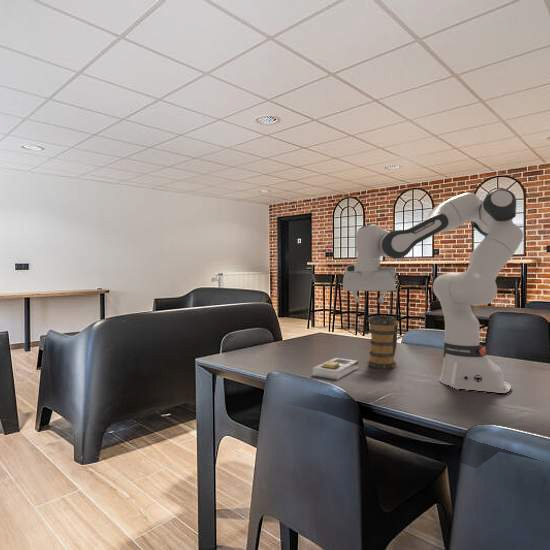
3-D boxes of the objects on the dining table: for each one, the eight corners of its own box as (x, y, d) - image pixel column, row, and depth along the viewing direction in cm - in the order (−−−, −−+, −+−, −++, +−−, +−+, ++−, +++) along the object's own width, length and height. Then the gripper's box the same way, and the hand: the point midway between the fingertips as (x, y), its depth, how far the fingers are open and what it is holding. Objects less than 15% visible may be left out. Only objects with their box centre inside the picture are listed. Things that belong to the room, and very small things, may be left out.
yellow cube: (333, 377, 152) (334, 365, 151) (322, 375, 154) (323, 363, 154) (338, 374, 155) (339, 362, 155) (328, 372, 158) (328, 361, 158)
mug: (359, 365, 170) (360, 317, 170) (383, 359, 181) (384, 314, 181) (386, 371, 160) (386, 320, 160) (409, 364, 172) (410, 317, 171)
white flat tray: (358, 368, 165) (358, 360, 164) (337, 379, 148) (337, 371, 148) (335, 364, 170) (335, 357, 170) (312, 375, 153) (312, 367, 153)
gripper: (397, 266, 156) (398, 302, 156) (346, 267, 166) (347, 301, 167) (392, 266, 150) (393, 304, 151) (340, 267, 161) (341, 302, 161)
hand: (369, 302), depth 159 cm, fingers open, 8 cm apart
